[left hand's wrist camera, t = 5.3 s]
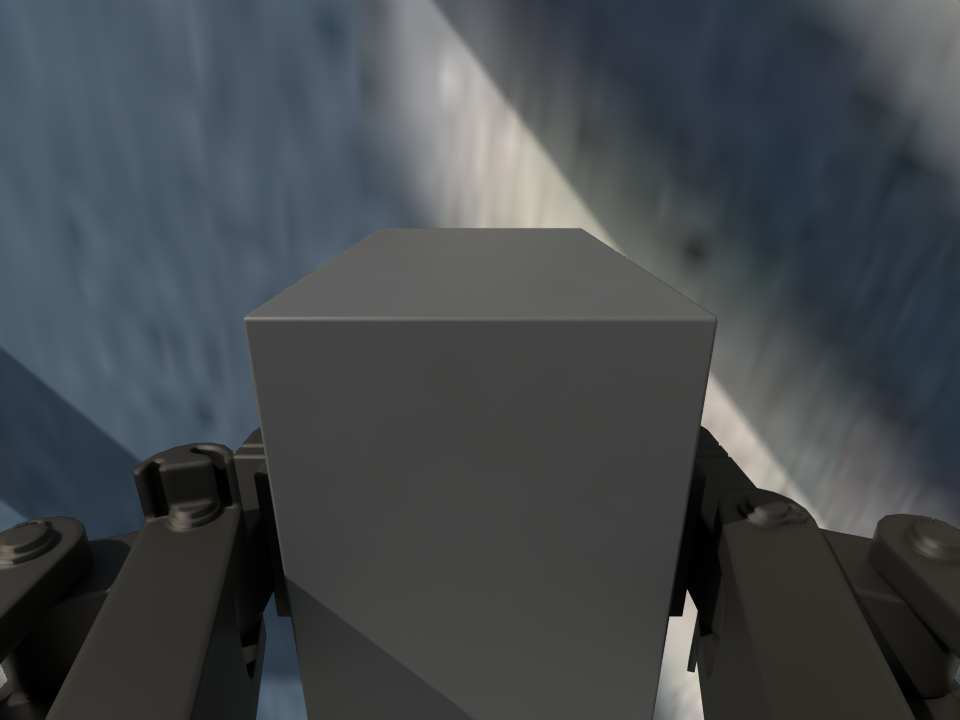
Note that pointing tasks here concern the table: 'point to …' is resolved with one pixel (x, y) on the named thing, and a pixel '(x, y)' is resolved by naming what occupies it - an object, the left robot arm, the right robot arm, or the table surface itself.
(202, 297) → the table surface
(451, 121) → the table surface
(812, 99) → the table surface
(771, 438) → the table surface
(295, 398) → the bar
